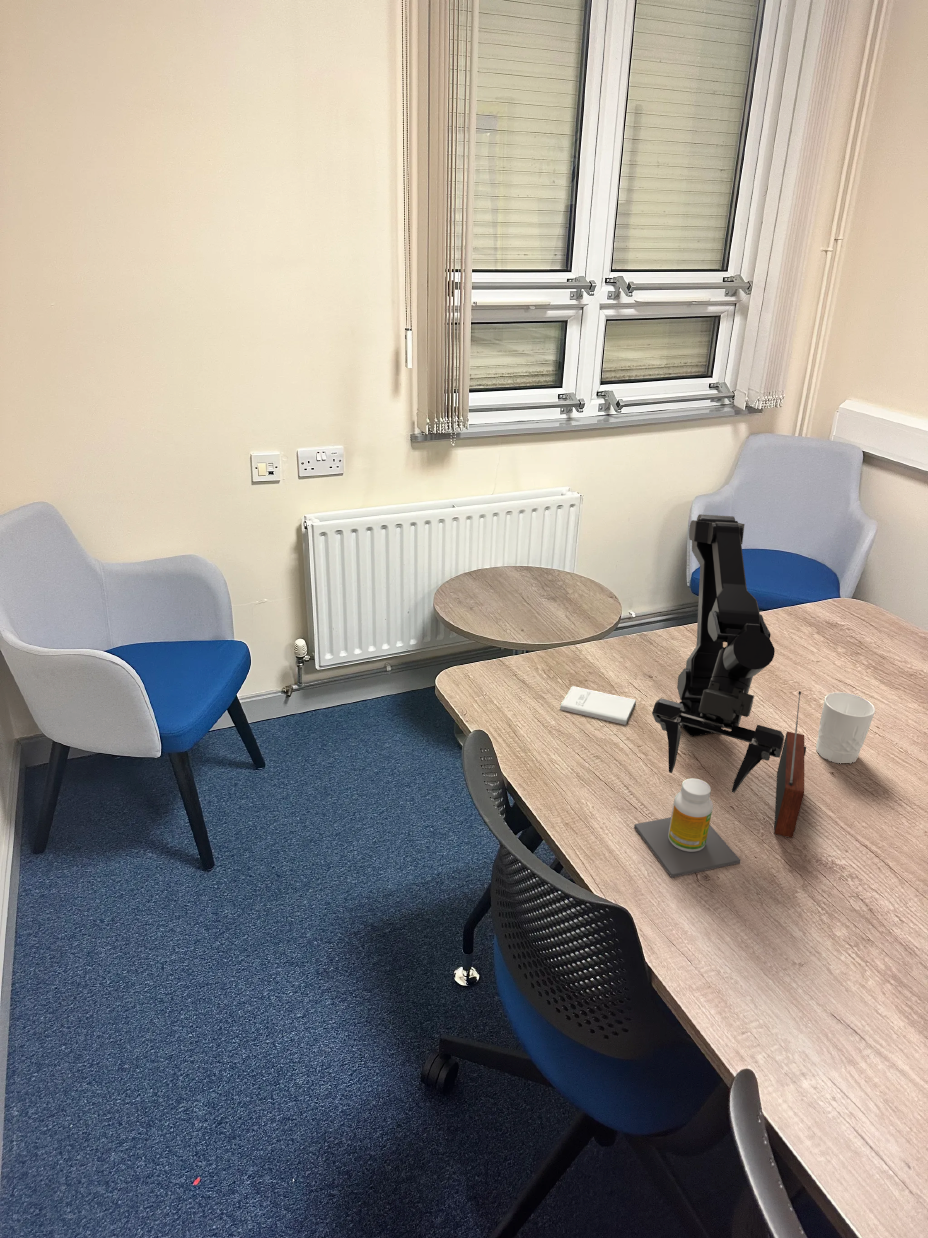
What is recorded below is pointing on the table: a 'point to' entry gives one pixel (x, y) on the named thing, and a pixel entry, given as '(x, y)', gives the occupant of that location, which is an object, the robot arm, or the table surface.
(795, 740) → the radio
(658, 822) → the coaster mat
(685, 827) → the supplement bottle
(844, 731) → the white cup
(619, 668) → the table surface
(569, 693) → the external hard drive
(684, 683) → the robot arm
